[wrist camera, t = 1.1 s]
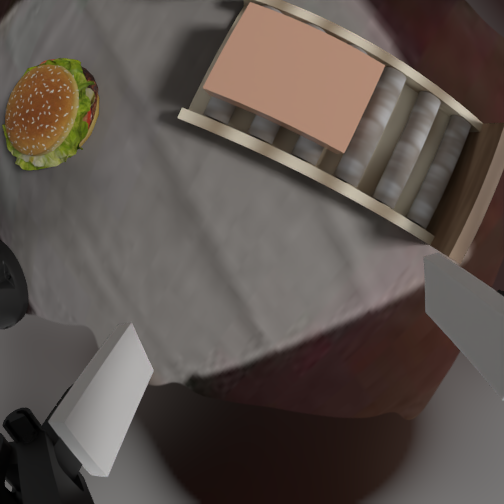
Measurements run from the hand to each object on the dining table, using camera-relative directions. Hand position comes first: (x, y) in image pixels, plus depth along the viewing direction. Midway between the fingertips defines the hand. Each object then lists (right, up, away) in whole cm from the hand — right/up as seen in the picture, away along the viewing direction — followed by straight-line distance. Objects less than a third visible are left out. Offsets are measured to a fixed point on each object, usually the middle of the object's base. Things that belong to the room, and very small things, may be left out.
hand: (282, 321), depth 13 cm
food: (-25, +20, +20) cm, 38 cm away
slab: (+3, +20, +16) cm, 25 cm away
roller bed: (+9, +18, +20) cm, 28 cm away
